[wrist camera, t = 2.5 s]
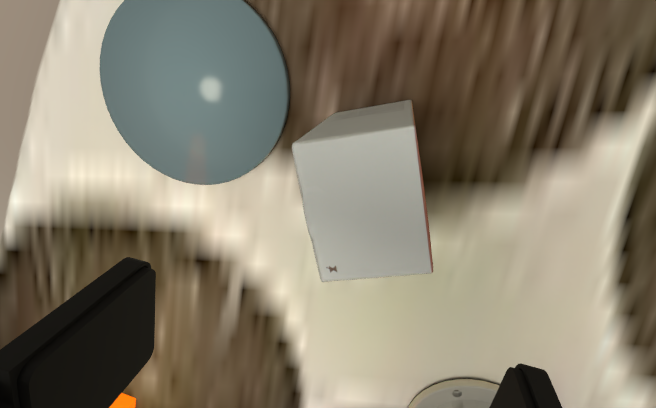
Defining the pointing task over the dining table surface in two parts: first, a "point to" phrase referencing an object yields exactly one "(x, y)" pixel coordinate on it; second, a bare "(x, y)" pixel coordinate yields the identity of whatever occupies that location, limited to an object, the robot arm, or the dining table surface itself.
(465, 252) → the dining table surface
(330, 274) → the small box
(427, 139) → the dining table surface
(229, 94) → the dish
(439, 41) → the dining table surface
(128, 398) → the orange juice
